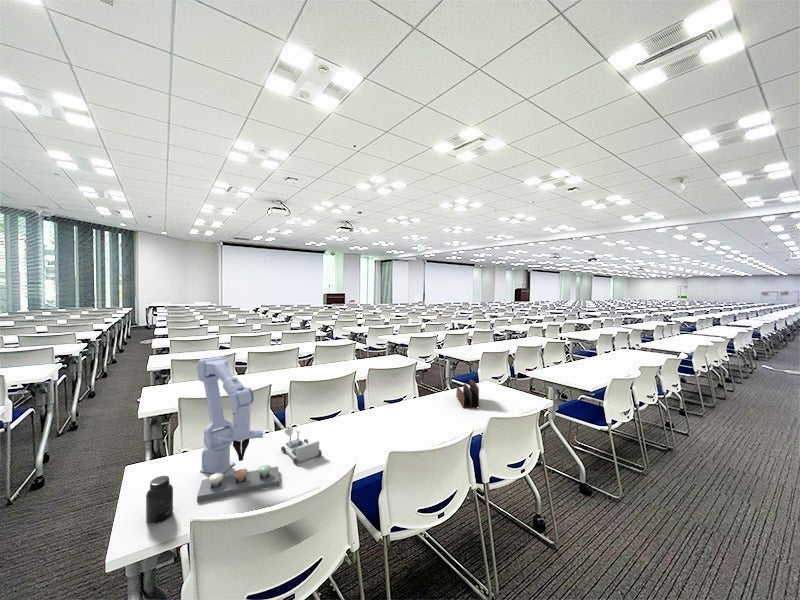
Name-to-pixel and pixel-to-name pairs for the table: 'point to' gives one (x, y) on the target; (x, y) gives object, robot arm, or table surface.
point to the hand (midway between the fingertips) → (241, 459)
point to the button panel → (238, 485)
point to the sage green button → (264, 470)
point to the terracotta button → (241, 474)
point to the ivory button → (216, 479)
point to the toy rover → (300, 448)
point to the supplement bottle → (159, 500)
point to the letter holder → (468, 395)
